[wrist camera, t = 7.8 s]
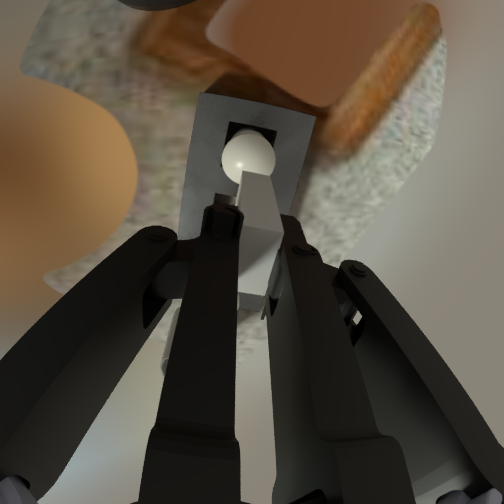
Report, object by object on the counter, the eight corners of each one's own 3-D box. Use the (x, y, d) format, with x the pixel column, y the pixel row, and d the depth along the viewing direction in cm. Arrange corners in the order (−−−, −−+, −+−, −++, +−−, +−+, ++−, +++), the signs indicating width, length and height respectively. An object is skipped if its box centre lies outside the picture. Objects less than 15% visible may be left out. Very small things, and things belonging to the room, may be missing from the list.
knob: (231, 120, 30) (227, 129, 23) (273, 129, 31) (281, 140, 24) (223, 159, 32) (217, 180, 26) (263, 167, 33) (268, 190, 26)
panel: (203, 92, 29) (199, 92, 26) (310, 114, 30) (316, 116, 28) (176, 284, 42) (172, 297, 39) (258, 297, 43) (259, 311, 41)
